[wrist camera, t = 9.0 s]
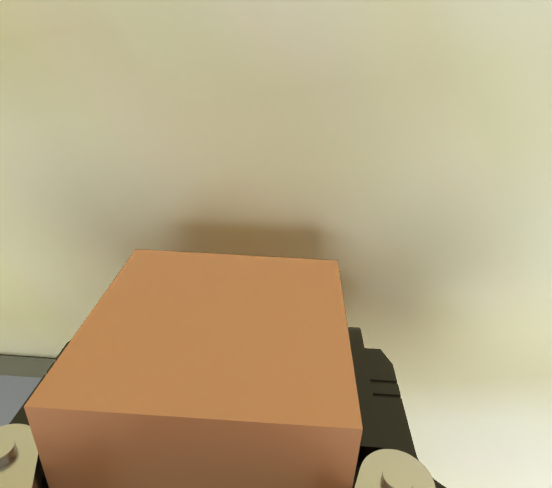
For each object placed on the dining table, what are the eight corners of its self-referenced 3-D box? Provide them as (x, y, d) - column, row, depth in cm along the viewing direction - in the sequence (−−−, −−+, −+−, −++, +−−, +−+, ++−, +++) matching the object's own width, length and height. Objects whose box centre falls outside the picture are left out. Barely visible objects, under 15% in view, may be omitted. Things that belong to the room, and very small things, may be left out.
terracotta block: (153, 396, 13) (80, 587, 9) (135, 249, 11) (23, 406, 7) (321, 407, 13) (331, 607, 9) (337, 260, 11) (362, 429, 6)
